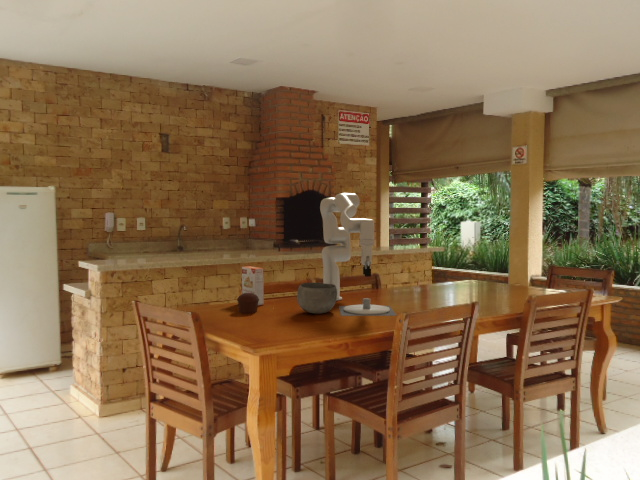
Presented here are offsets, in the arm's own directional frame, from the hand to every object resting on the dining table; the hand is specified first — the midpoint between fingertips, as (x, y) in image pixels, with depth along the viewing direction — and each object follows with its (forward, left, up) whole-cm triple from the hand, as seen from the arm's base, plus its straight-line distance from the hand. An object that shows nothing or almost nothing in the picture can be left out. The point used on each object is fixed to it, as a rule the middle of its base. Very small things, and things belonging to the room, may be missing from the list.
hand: (367, 275), depth 310 cm
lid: (0, 0, -19) cm, 19 cm away
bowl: (+4, -26, -19) cm, 33 cm away
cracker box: (-25, -62, -19) cm, 70 cm away
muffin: (0, -62, -19) cm, 65 cm away
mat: (0, 0, -19) cm, 19 cm away
